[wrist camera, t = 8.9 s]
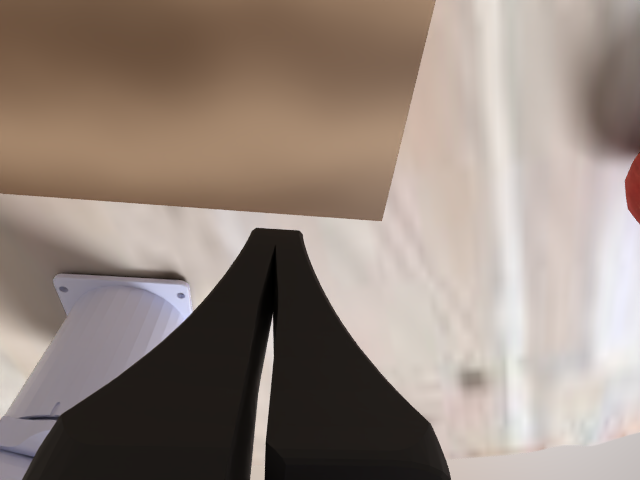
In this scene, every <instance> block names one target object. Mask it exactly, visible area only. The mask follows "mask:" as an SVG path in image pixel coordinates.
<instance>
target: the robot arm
mask: <svg viewBox="0 0 640 480" xmlns="http://www.w3.org/2000/svg"><path fill="white" fill-rule="evenodd" d="M53 284H54V286H55V289H56V291H57V293H58V296H59V298H60V300H61V303H62V305H63V308H64V310H65V312H66V315H67V317H66V319H65V321H64V322H63V324H62V325H61V327H60V328H59V330H58V332H57V333H56V335H55V336H54V338H53V340H52V341H51V343H50V344H49V346H48V347H47V349H46V351H45V352H44V354H43V355H42V357H41V359H40V360H39V362H38V363H37V365H36V366H35V368H34V370H33V371H32V373H31V374H30V376H29V377H28V379H27V381H26V382H25V384H24V385H23V387H22V389H21V390H20V392H19V393H18V395H17V396H16V398H15V400H14V401H13V403H12V404H11V406H10V408H9V409H8V411H7V412H6V414H5V415H4V416H3V417H2V418H1V420H0V480H250V474H251V463H252V453H253V442H254V431H255V421H256V410H257V400H258V392H259V385H260V379H261V374H262V368H263V363H264V358H265V352H266V347H267V342H268V337H269V331H270V326H271V321H272V315H273V338H274V362H273V373H272V383H271V394H270V404H269V415H268V425H267V435H266V453H265V480H451V477H450V472H449V468H448V465H447V462H446V459H445V457H444V454H443V451H442V449H441V446H440V444H439V441H438V439H437V437H436V435H435V432H434V430H433V428H432V426H431V424H430V423H429V422H428V421H427V420H426V419H425V418H424V417H423V416H422V415H421V414H420V413H419V412H418V411H417V410H416V409H415V408H413V407H412V406H411V405H410V404H409V403H408V402H407V401H406V400H405V399H404V398H403V397H402V396H401V395H400V394H399V393H398V391H397V390H396V389H395V388H394V387H393V386H392V385H391V384H390V383H389V382H388V381H387V380H386V379H385V377H384V376H383V375H382V374H381V373H380V372H379V371H378V369H377V368H376V367H375V366H374V364H373V363H372V362H371V361H370V360H369V358H368V357H367V356H366V355H365V354H364V352H363V351H362V350H361V349H360V347H359V346H358V345H357V343H356V342H355V341H354V339H353V338H352V336H351V335H350V334H349V332H348V331H347V329H346V328H345V326H344V325H343V323H342V322H341V320H340V319H339V317H338V316H337V314H336V312H335V311H334V309H333V307H332V306H331V304H330V302H329V300H328V298H327V297H326V295H325V293H324V291H323V289H322V287H321V285H320V283H319V281H318V278H317V276H316V274H315V272H314V270H313V267H312V265H311V262H310V260H309V257H308V254H307V251H306V248H305V244H304V240H303V234H302V233H301V232H300V231H297V230H281V229H265V228H255V229H254V230H253V231H252V232H251V234H250V237H249V238H248V240H247V242H246V244H245V246H244V247H243V249H242V250H241V252H240V254H239V255H238V257H237V258H236V260H235V261H234V262H233V264H232V265H231V267H230V268H229V270H228V271H227V272H226V274H225V275H224V276H223V278H222V279H221V280H220V281H219V283H218V284H217V285H216V286H215V288H214V289H213V290H212V291H211V292H210V294H209V295H208V296H207V297H206V298H205V299H204V301H203V302H202V303H201V304H200V305H199V306H198V307H197V308H196V309H195V310H194V311H193V310H192V302H191V295H190V287H189V284H188V283H187V282H185V281H182V280H166V279H149V278H131V277H114V276H96V275H79V274H57V275H56V276H55V277H54V279H53ZM180 293H183V294H180Z"/></svg>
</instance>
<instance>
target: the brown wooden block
mask: <svg viewBox="0 0 640 480" xmlns="http://www.w3.org/2000/svg"><path fill="white" fill-rule="evenodd" d="M435 1H436V0H0V193H2V194H16V195H29V196H43V197H57V198H71V199H84V200H98V201H112V202H126V203H139V204H153V205H167V206H181V207H194V208H208V209H222V210H236V211H249V212H263V213H277V214H291V215H304V216H318V217H332V218H346V219H359V220H373V221H382V218H383V214H384V210H385V206H386V202H387V198H388V194H389V189H390V185H391V181H392V177H393V173H394V169H395V165H396V161H397V157H398V153H399V148H400V144H401V140H402V136H403V132H404V128H405V124H406V120H407V116H408V112H409V107H410V103H411V99H412V95H413V91H414V87H415V83H416V79H417V75H418V71H419V66H420V62H421V58H422V54H423V50H424V46H425V42H426V38H427V34H428V30H429V25H430V21H431V17H432V13H433V9H434V5H435Z"/></svg>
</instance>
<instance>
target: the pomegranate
mask: <svg viewBox="0 0 640 480" xmlns="http://www.w3.org/2000/svg"><path fill="white" fill-rule="evenodd" d="M625 189H626V200H627V206H628V210H629V211H630V212H631V214H632V215H633V216H634V218H635V219H636V220H637V221H638V222H639V224H640V152H639V154H638V155H637V156H636V158H635V159H634V161H633V163H632V165H631V167H630V170H629V172H628V175H627V177H626V179H625Z"/></svg>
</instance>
